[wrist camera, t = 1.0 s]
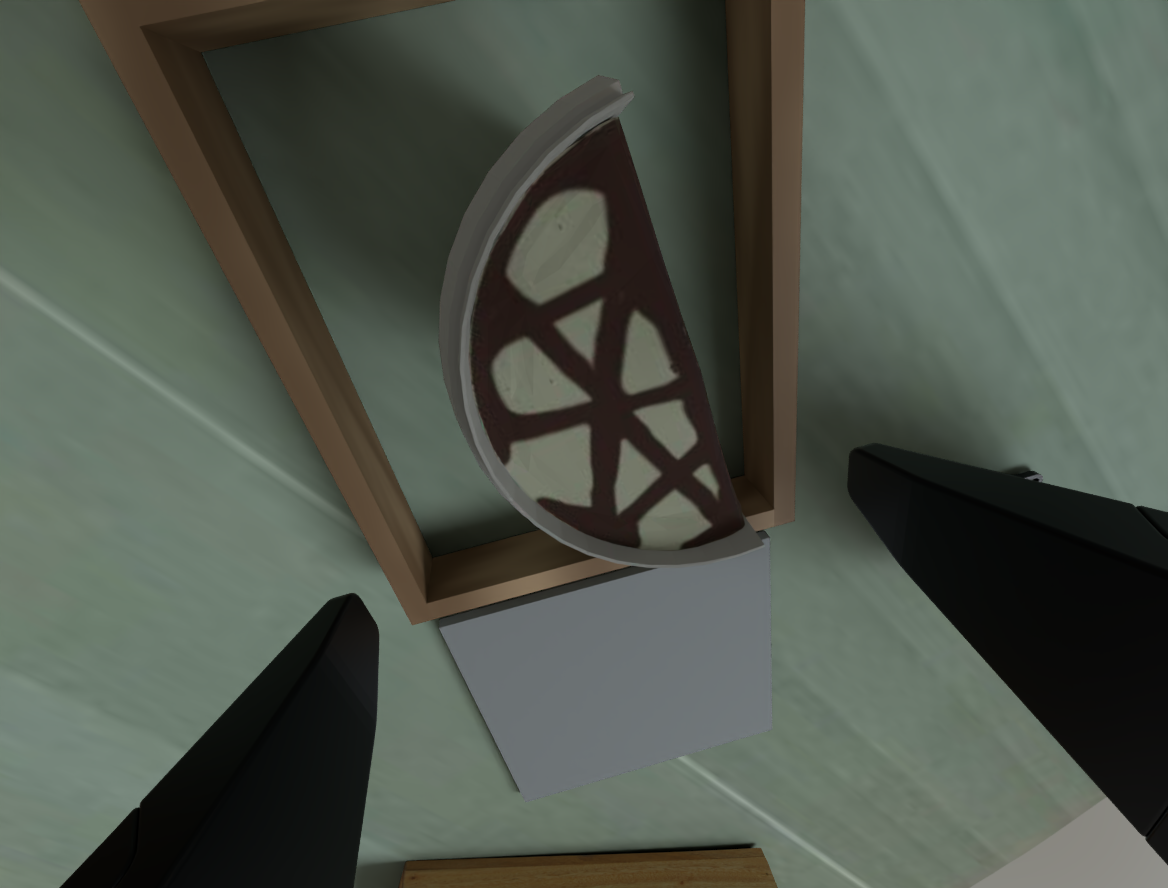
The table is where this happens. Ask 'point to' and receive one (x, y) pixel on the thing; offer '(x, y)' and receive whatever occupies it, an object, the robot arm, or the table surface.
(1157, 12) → the table surface
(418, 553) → the walnut frame
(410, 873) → the tray
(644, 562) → the food container
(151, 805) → the robot arm
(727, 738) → the slate mat
